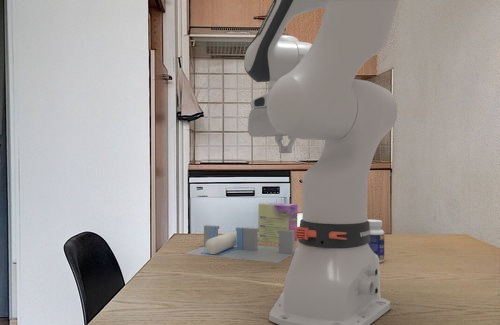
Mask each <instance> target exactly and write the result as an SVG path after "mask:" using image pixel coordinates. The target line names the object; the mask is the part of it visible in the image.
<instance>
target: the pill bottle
mask: <svg viewBox="0 0 500 325" xmlns="http://www.w3.org/2000/svg"><path fill="white" fill-rule="evenodd" d="M367 220H368V221H369V223H370V242H369V243H368V244H369V246H370V248H371V250H372V251H373V252H374V253H375V254H376V255H377V256H378V257H379V264H381V263H384V262H385V231H384V230H383V229H382V226H383V221H382V220H380V219H367Z"/></svg>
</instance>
